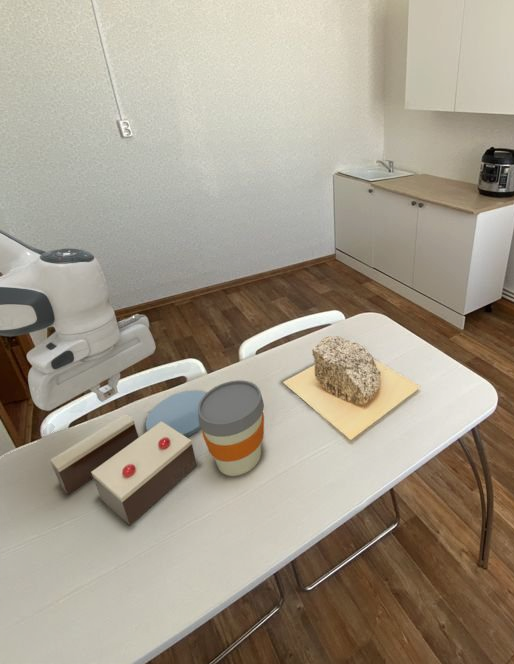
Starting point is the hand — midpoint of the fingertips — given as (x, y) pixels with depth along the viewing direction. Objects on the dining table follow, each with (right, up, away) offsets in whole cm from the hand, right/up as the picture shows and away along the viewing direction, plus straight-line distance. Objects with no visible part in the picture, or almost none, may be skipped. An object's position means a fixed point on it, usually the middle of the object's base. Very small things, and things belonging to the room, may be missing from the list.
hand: (108, 396), depth 74 cm
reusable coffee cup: (+23, -16, +7) cm, 29 cm away
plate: (+6, -12, +18) cm, 23 cm away
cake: (+7, -18, +2) cm, 19 cm away
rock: (+46, -8, +27) cm, 54 cm away
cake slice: (-5, -17, +6) cm, 18 cm away
